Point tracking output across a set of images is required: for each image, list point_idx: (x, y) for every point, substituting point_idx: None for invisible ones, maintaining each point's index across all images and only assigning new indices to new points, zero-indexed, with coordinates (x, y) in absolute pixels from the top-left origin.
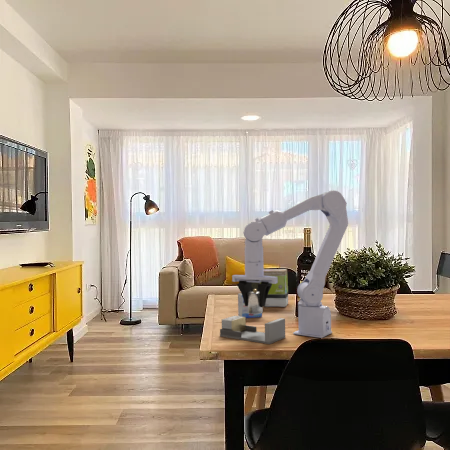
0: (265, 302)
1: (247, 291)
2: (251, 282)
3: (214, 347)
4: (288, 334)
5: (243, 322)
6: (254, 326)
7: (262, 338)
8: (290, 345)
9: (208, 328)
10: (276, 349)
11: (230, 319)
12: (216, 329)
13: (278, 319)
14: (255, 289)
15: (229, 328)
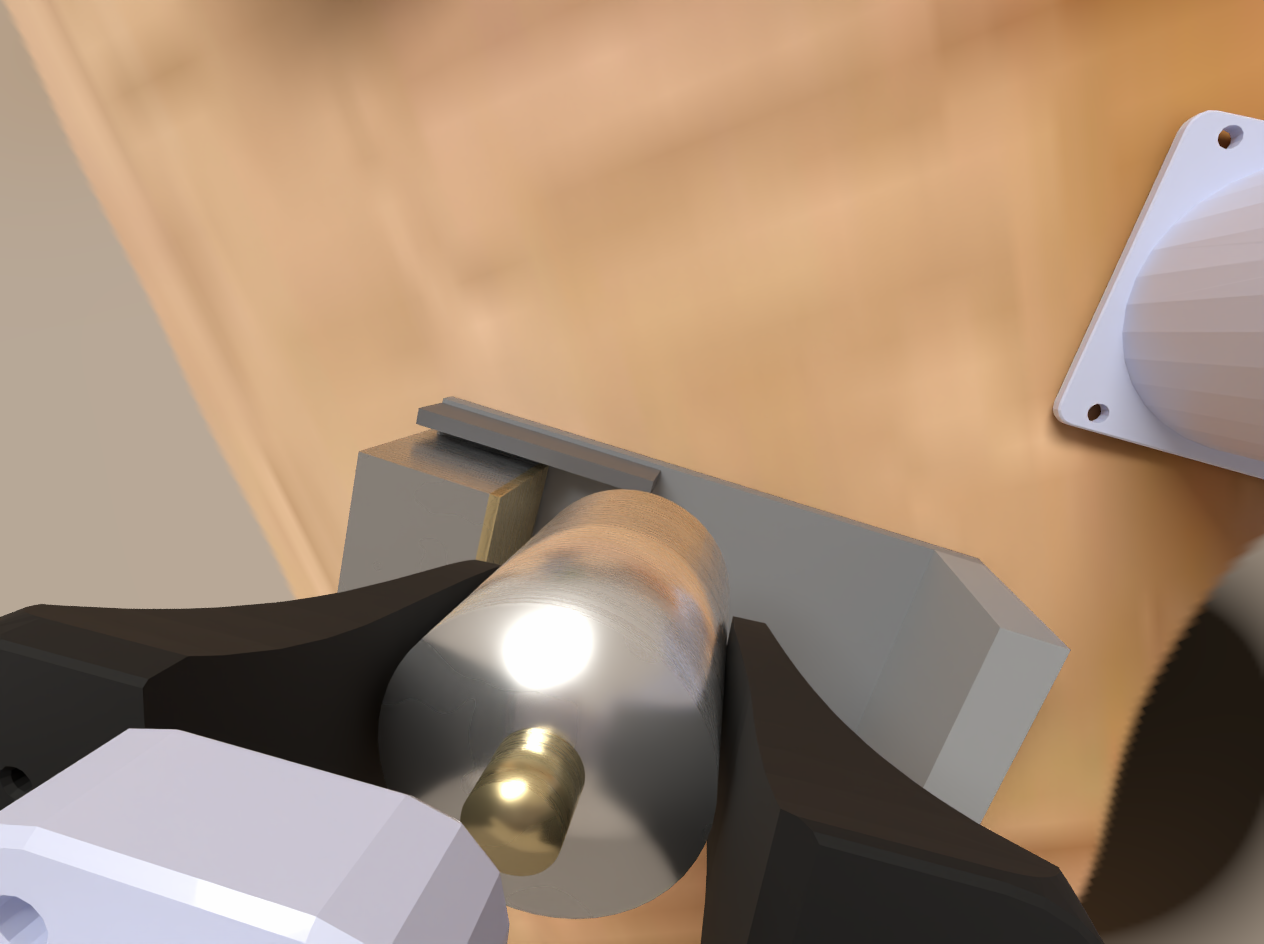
0: (780, 647)
1: (353, 761)
2: (178, 663)
3: (507, 908)
4: (993, 418)
5: (512, 519)
6: (631, 478)
7: None
8: (1062, 800)
9: (199, 387)
10: None
11: None
12: (275, 404)
13: (983, 710)
14: (529, 854)
15: None
